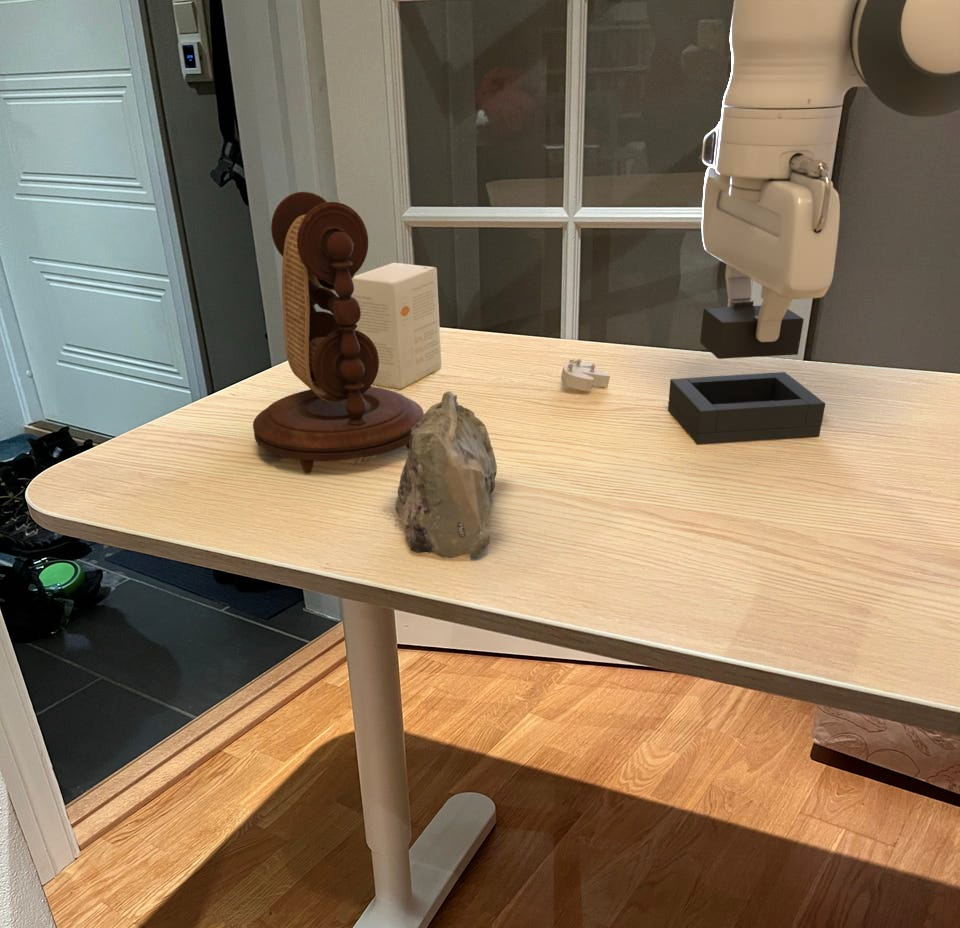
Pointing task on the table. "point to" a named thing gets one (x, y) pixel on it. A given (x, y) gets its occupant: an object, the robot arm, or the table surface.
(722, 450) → the table surface
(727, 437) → the socket pad
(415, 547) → the mineral rock
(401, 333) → the small box
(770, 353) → the black rectangular block
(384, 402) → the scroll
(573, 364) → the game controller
